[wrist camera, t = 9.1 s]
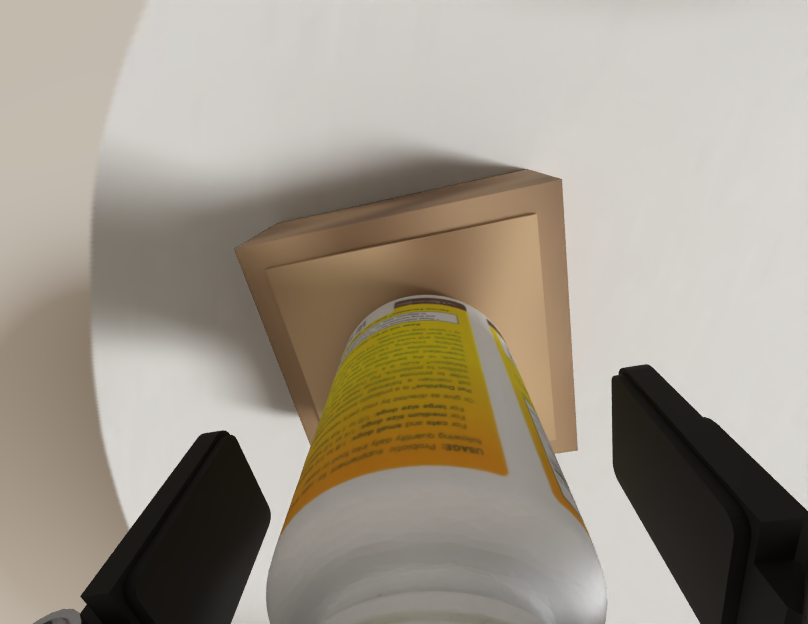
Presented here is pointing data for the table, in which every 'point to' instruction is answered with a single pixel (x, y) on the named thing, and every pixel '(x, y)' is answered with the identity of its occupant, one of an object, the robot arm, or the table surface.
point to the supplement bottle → (432, 488)
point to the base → (423, 282)
